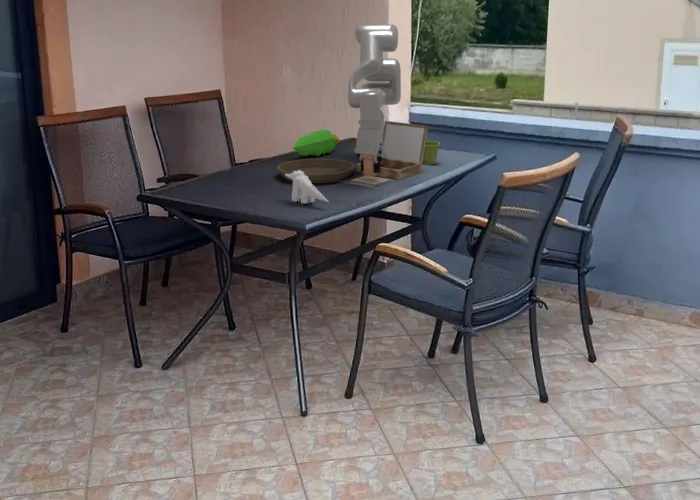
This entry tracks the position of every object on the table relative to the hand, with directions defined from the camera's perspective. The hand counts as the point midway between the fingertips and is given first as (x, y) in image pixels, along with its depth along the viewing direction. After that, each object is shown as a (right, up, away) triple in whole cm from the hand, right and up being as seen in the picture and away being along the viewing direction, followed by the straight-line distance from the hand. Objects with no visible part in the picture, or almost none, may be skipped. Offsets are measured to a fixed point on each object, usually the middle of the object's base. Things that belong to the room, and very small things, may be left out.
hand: (370, 171), depth 336 cm
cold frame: (+8, 0, +13) cm, 15 cm away
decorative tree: (-24, +11, +49) cm, 56 cm away
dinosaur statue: (-23, -14, -27) cm, 38 cm away
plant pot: (+25, +6, +31) cm, 40 cm away
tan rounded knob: (0, -1, 0) cm, 1 cm away
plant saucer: (-21, -1, +13) cm, 25 cm away
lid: (+13, +13, +16) cm, 25 cm away
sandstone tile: (0, -4, +1) cm, 4 cm away
